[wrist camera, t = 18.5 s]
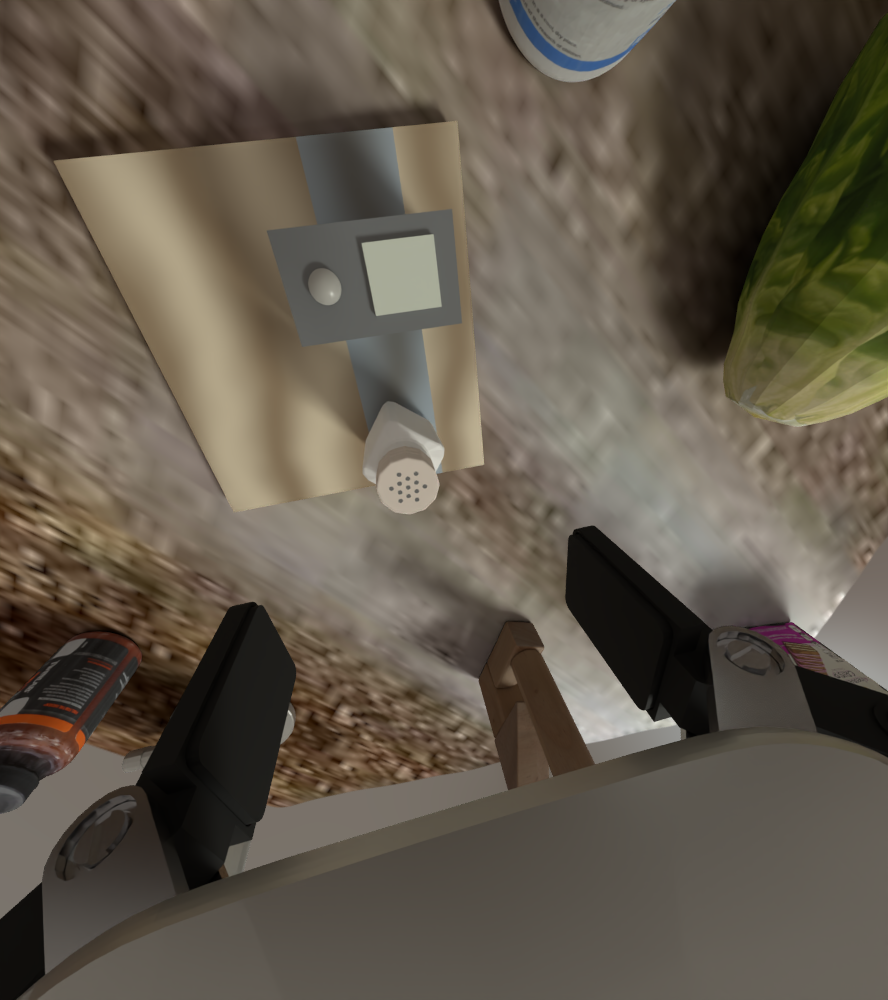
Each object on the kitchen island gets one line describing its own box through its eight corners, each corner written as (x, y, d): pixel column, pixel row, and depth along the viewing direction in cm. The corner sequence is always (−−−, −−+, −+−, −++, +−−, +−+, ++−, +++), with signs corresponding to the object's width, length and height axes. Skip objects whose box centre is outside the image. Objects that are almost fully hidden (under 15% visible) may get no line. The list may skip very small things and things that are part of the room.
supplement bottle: (61, 625, 29) (-102, 779, 19) (142, 629, 31) (30, 774, 21) (73, 670, 32) (-67, 828, 22) (148, 672, 33) (50, 819, 23)
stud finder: (321, 341, 21) (300, 347, 16) (297, 255, 19) (264, 228, 14) (442, 323, 22) (463, 323, 17) (433, 239, 20) (453, 207, 14)
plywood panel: (239, 505, 27) (233, 512, 26) (73, 170, 17) (53, 160, 16) (480, 459, 28) (483, 464, 27) (453, 132, 19) (457, 120, 18)
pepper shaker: (410, 466, 26) (424, 531, 18) (362, 444, 25) (354, 504, 17) (434, 422, 25) (461, 470, 17) (386, 396, 24) (389, 435, 15)
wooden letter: (476, 679, 43) (532, 884, 27) (505, 619, 38) (591, 822, 23) (502, 680, 44) (571, 878, 28) (533, 621, 39) (634, 817, 24)
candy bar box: (792, 619, 49) (962, 740, 35) (775, 642, 51) (928, 765, 37) (728, 627, 47) (879, 759, 33) (714, 651, 50) (849, 784, 35)
